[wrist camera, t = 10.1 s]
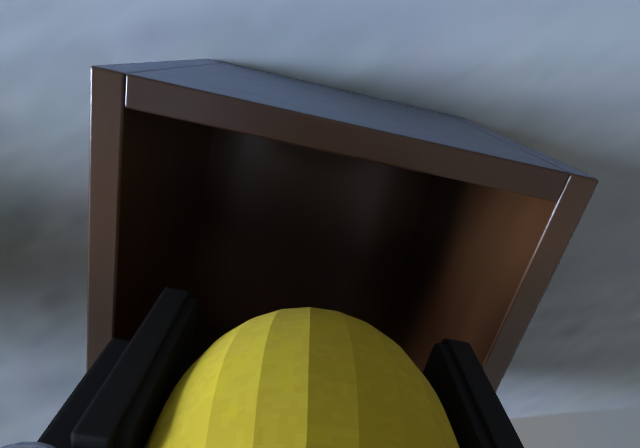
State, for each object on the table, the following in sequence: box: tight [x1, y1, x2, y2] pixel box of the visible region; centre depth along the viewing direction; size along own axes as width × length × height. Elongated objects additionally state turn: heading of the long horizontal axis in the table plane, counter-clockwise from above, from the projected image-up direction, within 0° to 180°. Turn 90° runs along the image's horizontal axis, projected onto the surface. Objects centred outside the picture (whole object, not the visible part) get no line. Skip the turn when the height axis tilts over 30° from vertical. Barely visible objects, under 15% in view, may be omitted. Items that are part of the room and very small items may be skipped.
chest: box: [87, 59, 598, 392], centre depth 18 cm, size 15×13×11 cm
